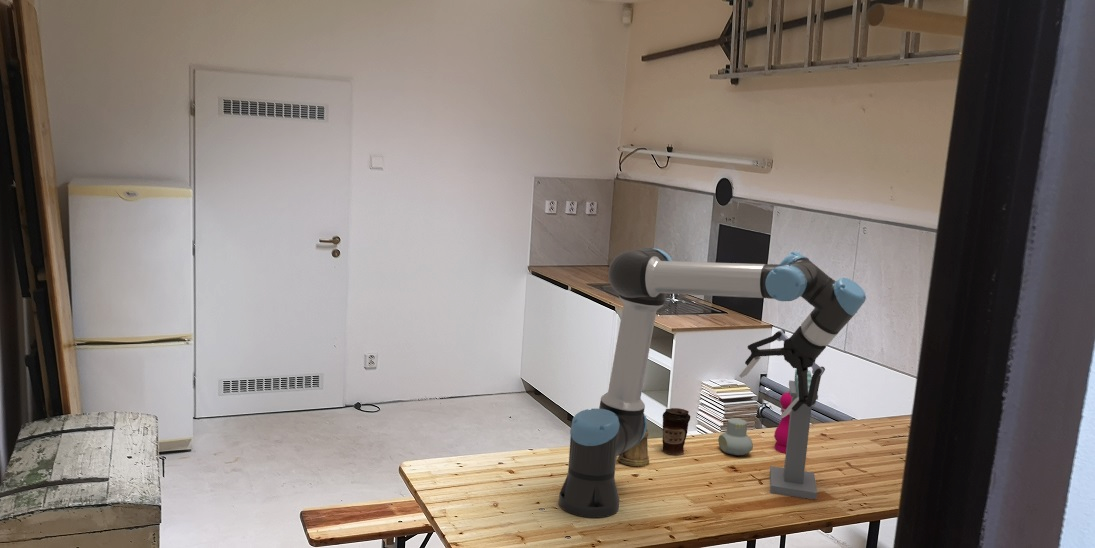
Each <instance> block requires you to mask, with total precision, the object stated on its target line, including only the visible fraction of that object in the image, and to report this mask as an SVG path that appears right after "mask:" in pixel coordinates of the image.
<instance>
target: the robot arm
mask: <svg viewBox="0 0 1095 548" xmlns="http://www.w3.org/2000/svg"><path fill="white" fill-rule="evenodd" d="M608 267H609V268H608V272H607V273H608V274H607V277H608V280H609V284H610V286H611V287H612V289H613V291H614V292H616V293H617V294H618V298H619V300H620V301H621V303H622V304H623V305H622V311H621V317H620V322H619V327H618V334H617V339H616V343H615V345H616V346H615V352H614V355H613V363H612V368H611V374H610V379H609V383H608V388H607V389H608V390H607V392H606V393H604V394H603V395H601V397H600V400H599V401H600V403H599V406H598V408H591V409H583V410H581V411H578V412H577V413H575V415H574V416H573V418H572V421H571V426H570V432H569V434H570V439H569V452H568V455H569V456H568V467H567V468H568V470H567V474H566V477H565V480H564V482H563V485H562V487H561V489H560V491H559V494H558V495H559V496H558V504H559V507H560V508H561V509H562V510H564V511H565V512H567V513H569V514H572V515H575V516H579V517H584V518H605V517H610V516H612V515H615V514H616V513H617V512H618V511H619V510H620V496H619V491H618V488H617V483H616V478H615V474H616V464H617V463H616V462H617V457H619V455H620V454H622V453H623V452H625V451H627V450H629V449H631V448H633V447H634V446H636V445H637V444H638V443H639V442H640V441H641V440H642V439H643V437H644V435H645V433H646V430H648V419H647V415H645V408H646V404H645V403H644V401H643V400H642V392H643V386H644V382H645V375H646V371H647V365H648V359H649V353H650V348H651V343H652V337H653V331H654V327H655V323H656V322H655V321H656V317H657V311H658V310H659V309H661V308H662V307H664V305H665V300H666V297H667V296H666V295H667V294H669V295H671V294H673V295H690V296H694V295H695V296H712V297H714V296H716V297H735V298H754V299H755V298H757V299H758V298H759V299H768V300H769V299H772V300H776V301H779V302H793V301H795V300H797V299H799V298H800V297H801V298H802V299H803V300H804V301H806V302H807V303H808V304H809V305H811V306H812V307H813V310H812V311H810V313H809V314H808V315H807V316H806V318H805V319H804V320H803V321H802V322H801V325H799V326H798V327H797V329H796V330H795V331H794V332H793V333H792V335H791V336H790V337H788V336H787V335H786V330H784V329H780V330H778V331H776V332H775V333H774V334H773V335H771V336H769V337H766V338H763V339H761V340H758V341H755V342H752V343H751V344H748V345H747V350H749V351H750V355H749V357H747V359H745V362H744V363H745V365H746V366H745V368H744V369H743V370H742V372H741V373H740V374H739V378H745V377H746V376H747V375H749V373H750V372H751V371H752V369H753V368H754V367H755V366H756V364H758V362H759V361H760V360H761V358H762V357H773V356H776V357H777V356H778V357H779V356H780V357H781V356H783V358H784V359H783V360H784V361H785V362H787V363H788V364H789V365H790V366H791V367H792V368H793V369H795V370H796V369H797V375H798V390H799V397H797V398H796V399H795V400H794V401H793V402H792V403H791V404H790V405H789V406H788V408H787V409H786V410H785V411H784V412H783V413H782V412H781V414H780V415H779V417H780V418H784V417H785V416H787V415H788V414H789V413H790V412H791V410H793V411H794V412H795V411H797V410H798V409H800V407H801V406H802V405H803V404H806V405H807V406H808V407H811V406H812V407H813V406H815V404H816V403H817V400H816V398H817V393H818V392H819V387H820V384H821V378H822V375H823V374H824V372H825V370H826V368H825V366H819V364H817V363H816V360H817V359H818V357H819V356H820V355H822V353H823V351H825V349H826V347H827V346H828V345H829V344H830V343H831V342H832V341H833V340H834V339H835V338H836V337H837V335H838V334H839V333H840V332H841V330H842V329H843V328H844V327H845V326H846V325H847V324H849V323H848V322H850V320H852V318H853V317H854V316H855V315H856V314H857V313H858V311H859V310H860V309H861V307H862V306H863V305H864V303H865V302H866V300H867V297H866V296H867V295H866V292H865V291H864V289H863V288H862V287H861V285H859V284H858V283H857V282H856V281H853V280H851V279H850V278H848V277H840V278H838V279H837V280H835V279H833V278H832V277H831V276H830V275H828V274H827V273H826V272H824V271H823V270H822V269H821V268H820V267H818V266H817V265H816V264H815V263H814V262H813V261H811V260H810V258H808V257H806V256H804V255H803V254H801V252H799V251H796V250H794V251H791V252H790V253H789V254H787V256H785V257H784V259H783V260H782V261H781V262H780V263H779V264H776V263H775V264H773V263H770V264H769V263H768V264H766V263H743V262H742V263H740V262H736V263H735V262H732V263H731V262H706V261H705V262H704V261H703V262H702V261H678V260H677V261H676V260H675V261H674V260H673V259H672V257H670V254H668V253H667V252H665V251H664V250H662V249H659V248H655V247H654V248H652V247H643V248H638V249H632V250H631V249H630V250H624V251H623V252H621V253H619V254H617V255H616V256H615V257H614V258H613V259H612V261H611V263H610V265H609V266H608ZM775 341H778V342H781V341H783V347H777V348H763V349H761V348H760V347H762V346H765V345H768V344H771V343H773V342H775ZM809 368H811V369H812V370H811V376H812V378H811V383H810V388H809V393H808V380H807V372H808V371H809ZM818 394H819V393H818Z"/></svg>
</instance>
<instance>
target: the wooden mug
mask: <svg viewBox="0 0 1095 548" xmlns="http://www.w3.org/2000/svg"><path fill="white" fill-rule="evenodd" d="M648 436H649V430H648V429H647V430H646V433H645V435H644V437H643V439H642V440H641V441H640V442H639V443H638V444H637V445H636V446H634V447H633V448H631V449H629V450H627V451H625V452H623V453H622V454H620V455H618V456H617V457H618V458H617V460H618V461H619V463H620V462H621V463H620V464H622V463H623V464H622V465H624V464H625V465H624V466H627V465H629V466H628V467H632V466H638V467H637V468H640V467H639V466H643V467H645V465H646V466H647V465H649V464H650V456H649V451H648V450H649V449H648V445H649V443H648Z"/></svg>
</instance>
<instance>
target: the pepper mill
mask: <svg viewBox="0 0 1095 548" xmlns="http://www.w3.org/2000/svg"><path fill="white" fill-rule="evenodd" d="M787 391H788V392H784V393H783V394H782V395H781V396H780V399H779V402H780V405H781V407H780V413H781V414H782V413H783V412H784V411H785V410H786V409H787V408H788V406H789V405H790V404H791V401H792V396H790V389H789V388H788V390H787ZM780 418H781V417H780ZM789 420H790V413H789V414H788V415H787V416H785V417H784V418H781V419H780V422H779V424H778V425H777V427H776V429H775V431H774V434H773V438H774V439H775V441H776V442H775V443H774V450H776V452H779V453H782V454H786V447H787V438H788V429H789Z"/></svg>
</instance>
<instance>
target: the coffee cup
mask: <svg viewBox="0 0 1095 548" xmlns="http://www.w3.org/2000/svg"><path fill="white" fill-rule="evenodd" d="M689 412H690V411H689V410H686V409H684V408H679V407H678V408H677V407H670V408H665V411H664V412H663V414H662V452H664V453H666V454H668V455H675V456H679V455H680V456H681V455H684V452H685V450H684V448H685V442H686V439H687V436H688V428H689V423H690V421H691V415H690V414H689Z"/></svg>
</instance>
